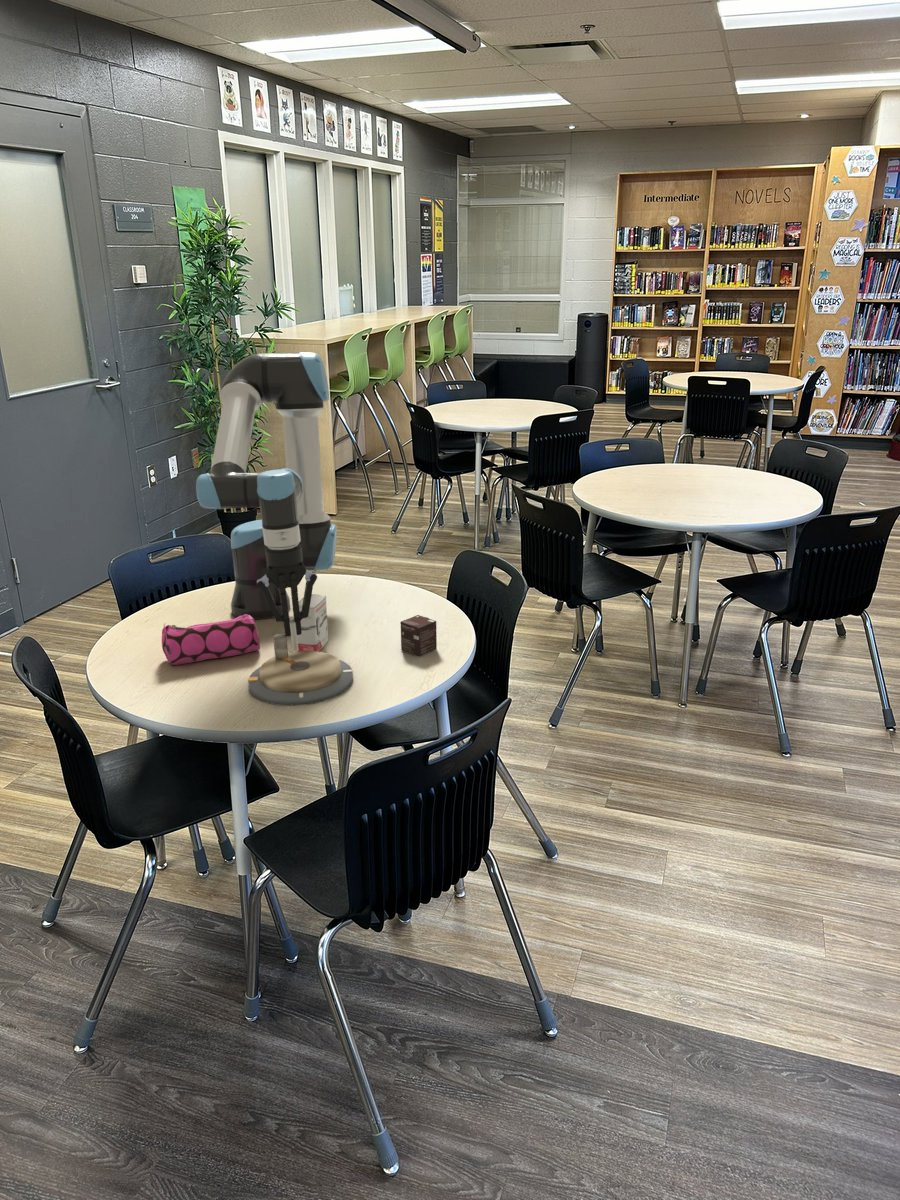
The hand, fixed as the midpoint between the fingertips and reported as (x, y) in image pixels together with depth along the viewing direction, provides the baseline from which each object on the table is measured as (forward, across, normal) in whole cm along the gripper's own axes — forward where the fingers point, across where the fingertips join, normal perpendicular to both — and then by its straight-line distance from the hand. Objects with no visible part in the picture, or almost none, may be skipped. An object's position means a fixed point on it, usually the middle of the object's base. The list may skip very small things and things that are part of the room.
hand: (295, 648), depth 194 cm
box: (+6, +28, +3) cm, 29 cm away
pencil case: (+5, -18, +14) cm, 23 cm away
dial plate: (+5, 0, -6) cm, 8 cm away
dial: (+4, 0, -6) cm, 7 cm away
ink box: (+6, +5, +12) cm, 14 cm away
